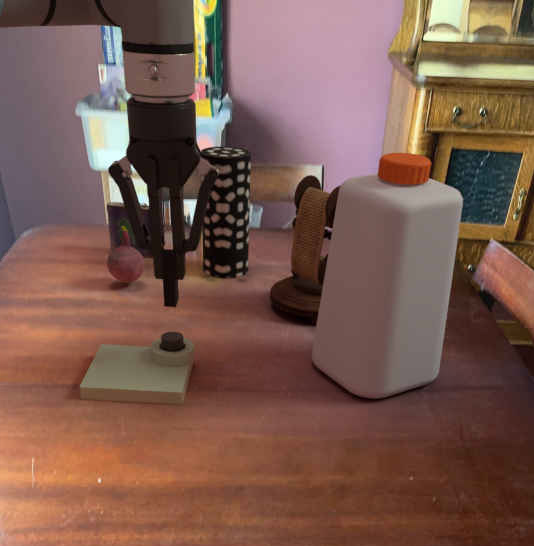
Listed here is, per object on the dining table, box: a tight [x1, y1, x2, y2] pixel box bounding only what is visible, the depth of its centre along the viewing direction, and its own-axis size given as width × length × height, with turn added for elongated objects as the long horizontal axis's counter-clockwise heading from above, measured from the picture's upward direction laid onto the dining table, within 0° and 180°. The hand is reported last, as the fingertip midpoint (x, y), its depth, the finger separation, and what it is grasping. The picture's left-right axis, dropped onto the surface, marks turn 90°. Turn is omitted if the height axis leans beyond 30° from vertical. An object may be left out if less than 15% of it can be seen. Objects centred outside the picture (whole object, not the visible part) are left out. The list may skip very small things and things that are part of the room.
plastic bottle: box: [311, 152, 464, 399], centre depth 87 cm, size 15×15×28 cm
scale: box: [79, 336, 196, 406], centre depth 90 cm, size 13×12×4 cm
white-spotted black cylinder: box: [200, 146, 252, 279], centre depth 118 cm, size 8×8×20 cm
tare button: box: [160, 331, 184, 352], centre depth 91 cm, size 3×3×2 cm
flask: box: [105, 201, 153, 259], centre depth 126 cm, size 9×3×11 cm, turn 76°
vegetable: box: [106, 226, 146, 286], centre depth 114 cm, size 6×6×10 cm
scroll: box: [269, 174, 341, 326], centre depth 106 cm, size 15×15×20 cm
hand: (171, 302), depth 88 cm, fingers closed
